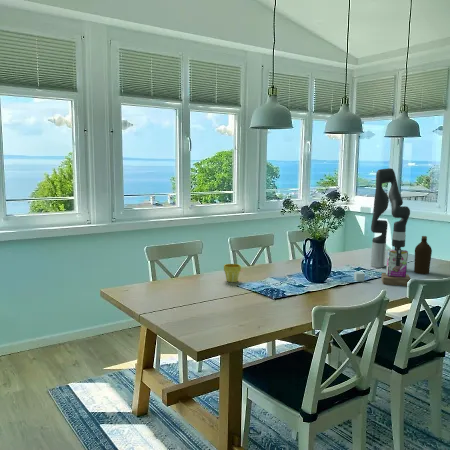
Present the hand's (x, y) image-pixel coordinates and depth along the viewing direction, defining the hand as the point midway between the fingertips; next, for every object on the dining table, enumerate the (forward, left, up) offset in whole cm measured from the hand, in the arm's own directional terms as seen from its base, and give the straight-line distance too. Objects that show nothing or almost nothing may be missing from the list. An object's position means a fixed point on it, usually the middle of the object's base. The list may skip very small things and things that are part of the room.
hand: (396, 264), depth 289 cm
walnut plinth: (0, 0, -11) cm, 11 cm away
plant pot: (+28, -98, -12) cm, 103 cm away
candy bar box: (0, 0, -8) cm, 8 cm away
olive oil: (-33, +20, -12) cm, 40 cm away
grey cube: (+2, -22, -12) cm, 25 cm away
